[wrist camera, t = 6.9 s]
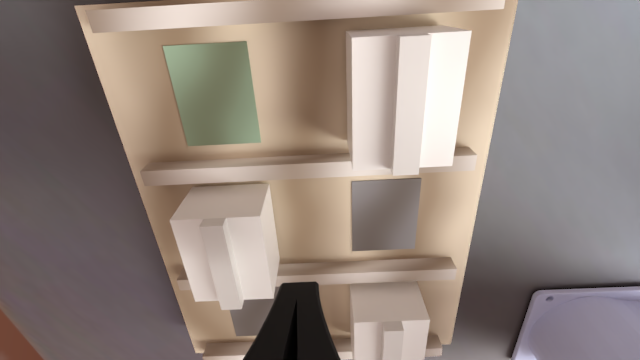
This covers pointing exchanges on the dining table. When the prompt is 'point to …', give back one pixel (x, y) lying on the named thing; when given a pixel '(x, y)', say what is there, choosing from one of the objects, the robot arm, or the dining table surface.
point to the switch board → (295, 145)
